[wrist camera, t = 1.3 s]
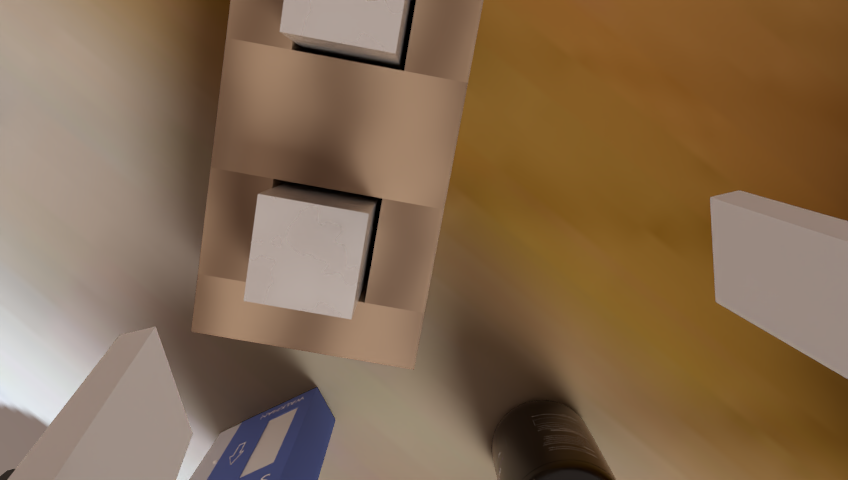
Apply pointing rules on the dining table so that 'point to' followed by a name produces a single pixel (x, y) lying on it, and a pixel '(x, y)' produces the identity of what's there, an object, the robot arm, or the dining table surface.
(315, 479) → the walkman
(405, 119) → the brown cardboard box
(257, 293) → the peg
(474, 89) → the dining table surface
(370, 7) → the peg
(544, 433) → the supplement bottle
